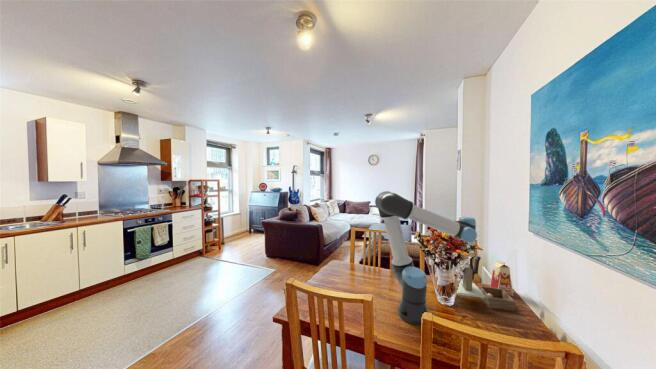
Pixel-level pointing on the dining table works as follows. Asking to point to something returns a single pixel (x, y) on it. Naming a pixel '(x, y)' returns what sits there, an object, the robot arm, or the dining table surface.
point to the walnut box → (497, 298)
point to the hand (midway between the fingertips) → (466, 284)
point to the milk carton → (502, 278)
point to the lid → (469, 285)
